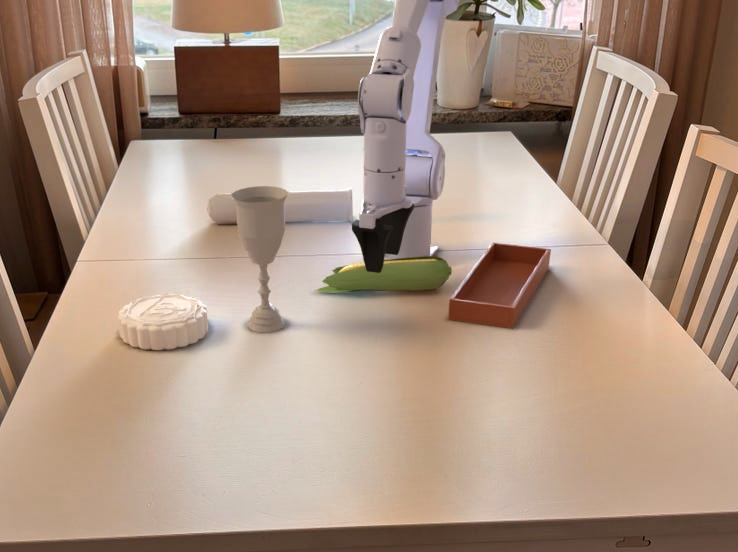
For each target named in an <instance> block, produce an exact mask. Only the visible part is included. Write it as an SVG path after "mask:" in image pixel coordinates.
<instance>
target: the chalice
mask: <svg viewBox="0 0 738 552" xmlns="http://www.w3.org/2000/svg"><path fill="white" fill-rule="evenodd" d="M287 191H288V190H287V189H286V188H285V189H284V188H282V187H278V186H269V185H257V186H249V187H245V188H241V189H237V190H235V191H233V192H231V193H232V198H233V200H234V201H235V203H236V211H237V234H238V236H239V239H240V241H241V244H242V247H243V248H244V250H245V251H246V253H247V255H248V257H249V259H250V260H251V262H252V263H253V264H255V265H258V267H259V275H258V277H257V280H258V281H259V283H260V286H259V289H258V291H257V293H258V294H259V296H260V298H261V301H260V304H259V305H257V306H256V307H255V308H254V310H252V312H251V316H250V317H249V322H248V323H247V327H248V329H249V330H251V331H252V332H256V333H273V332H277V331H279V330H281V329H283V328H284V327H285V322H284V320H283V317H282V316H281V314H280V310H279V309H278V308H276V306H274V305H272V303H270V300H269V296H270V293H272V290H271V289H270V288H269V285H268V284H269V280H270V279H271V277H270V276H269V272H268V265H270V264H272V263H273V262H274V261H275V259H276V257H277V254H278V252H279V250H280V248H281V245H282V242H283V239H284V236H285V231H286V222H285V214H284V201H285V199H286V197H287V194H288V192H287Z"/></svg>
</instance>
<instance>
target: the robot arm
mask: <svg viewBox="0 0 738 552" xmlns="http://www.w3.org/2000/svg"><path fill="white" fill-rule="evenodd" d="M460 2H461V0H395V3H394V8H393V13H392V14H393V15H392V20H391V24H390V25H391V26H389V27H387V28H385V29H384V30H383V31H382V33H381V34H380V36H379V40H378V44H377V47H376V51H375V53H374V58H373V61H372V65H371V67H370V72H369V73H368V74H367V76H366V77H362V78H361V80H360V83H359V85H358V86H359V87H358V93H357V111H358V116H359V121H360V123H359V124H360V132H361V134H363V192H362V193H363V197H362V198H361V212H360V213H359V214H358V215H359V217H358V218H359V219H355V220H354V221H353V222H351V232H352V233H353V234H354V236H355V238H356V240H357V242H358V244H359V248H360V251H361V254H362V255H361V256H362V258H363V262H364V263H365V267H366V271H367V272H375V273H380V272H381V271H382V268H383V264H384V260H390V259H399V258H408V257H421V256H434V255H435V254H436V253H438V251H439V246H436V245H432V244H431V243H432V224H433V201H437V200H438V199H439V198H440V197H441V196H442V193H443V191H444V190H443V189H444V184H445V176H446V166H445V162H446V152H445V149H444V146H443V145H442V143H440V142H439V141H438V140H437V139H436V138H435V137H434V136H433V135H432V134H431V126H432V125H431V124H432V118H433V109H434V100H435V92H436V84H437V78H438V77H437V75H438V69H439V67H438V66H439V60H440V52H441V44H442V35H443V30H444V27H445V23H446V19H447V17H448V16H449V15H451V14H452V13H454V12H456V11H457V10H458V8H459V3H460ZM406 154H416V155H417V156H411V155H406Z"/></svg>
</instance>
